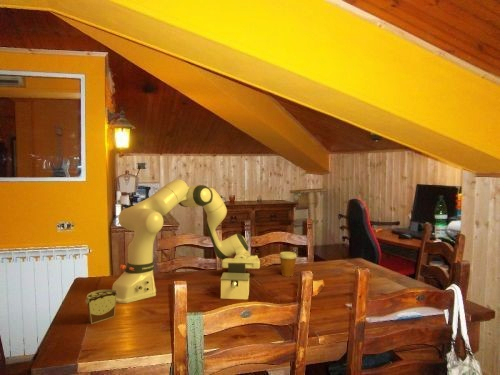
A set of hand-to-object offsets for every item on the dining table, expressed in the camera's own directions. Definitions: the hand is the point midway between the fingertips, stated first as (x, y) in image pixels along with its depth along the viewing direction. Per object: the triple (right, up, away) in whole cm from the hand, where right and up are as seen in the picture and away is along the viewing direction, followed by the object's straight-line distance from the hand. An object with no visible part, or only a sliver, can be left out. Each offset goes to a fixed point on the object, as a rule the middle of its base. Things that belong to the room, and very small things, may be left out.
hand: (239, 267), depth 198 cm
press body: (-2, -8, -21) cm, 22 cm away
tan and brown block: (-52, -9, -50) cm, 73 cm away
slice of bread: (+36, -9, -9) cm, 38 cm away
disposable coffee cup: (+26, -7, +14) cm, 30 cm away
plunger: (-2, -6, -21) cm, 23 cm away
